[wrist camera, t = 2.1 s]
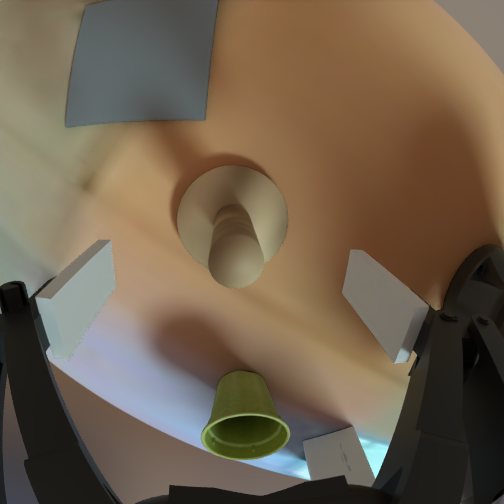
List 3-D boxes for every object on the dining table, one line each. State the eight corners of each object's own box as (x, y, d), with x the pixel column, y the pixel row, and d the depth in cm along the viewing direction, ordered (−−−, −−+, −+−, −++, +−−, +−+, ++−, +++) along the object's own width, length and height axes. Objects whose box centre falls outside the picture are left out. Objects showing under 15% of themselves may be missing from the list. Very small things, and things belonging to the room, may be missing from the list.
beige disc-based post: (290, 169, 26) (332, 181, 16) (280, 270, 29) (307, 335, 19) (180, 163, 25) (148, 171, 15) (179, 266, 28) (155, 331, 18)
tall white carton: (353, 425, 40) (403, 548, 16) (351, 448, 43) (391, 555, 19) (301, 440, 40) (335, 571, 16) (306, 461, 43) (334, 573, 19)
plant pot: (189, 377, 33) (182, 431, 25) (256, 347, 32) (265, 402, 24) (229, 416, 36) (231, 466, 28) (290, 391, 35) (303, 442, 27)
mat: (219, -7, 19) (219, -10, 19) (205, 120, 24) (204, 119, 23) (88, 7, 18) (86, 5, 17) (68, 127, 22) (65, 127, 22)
